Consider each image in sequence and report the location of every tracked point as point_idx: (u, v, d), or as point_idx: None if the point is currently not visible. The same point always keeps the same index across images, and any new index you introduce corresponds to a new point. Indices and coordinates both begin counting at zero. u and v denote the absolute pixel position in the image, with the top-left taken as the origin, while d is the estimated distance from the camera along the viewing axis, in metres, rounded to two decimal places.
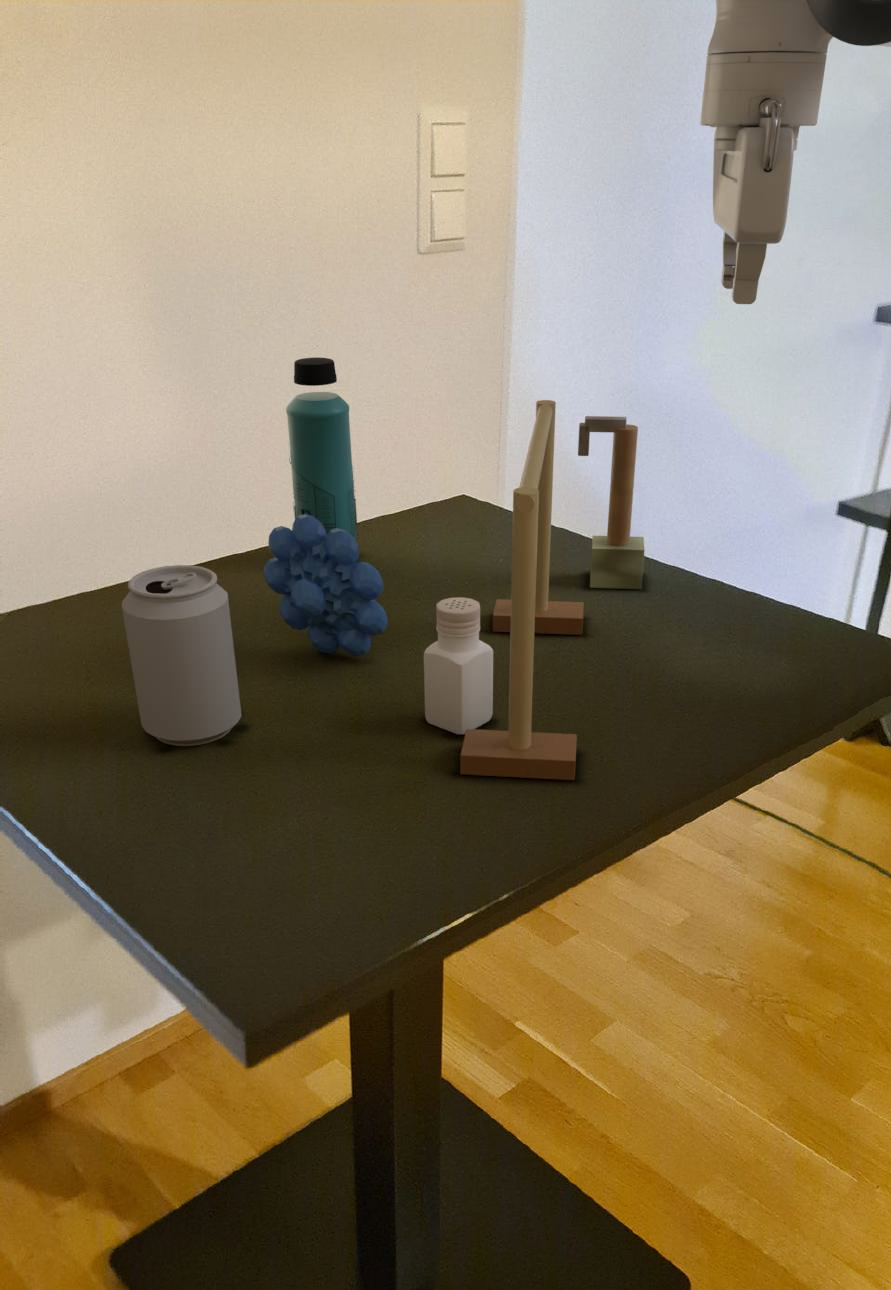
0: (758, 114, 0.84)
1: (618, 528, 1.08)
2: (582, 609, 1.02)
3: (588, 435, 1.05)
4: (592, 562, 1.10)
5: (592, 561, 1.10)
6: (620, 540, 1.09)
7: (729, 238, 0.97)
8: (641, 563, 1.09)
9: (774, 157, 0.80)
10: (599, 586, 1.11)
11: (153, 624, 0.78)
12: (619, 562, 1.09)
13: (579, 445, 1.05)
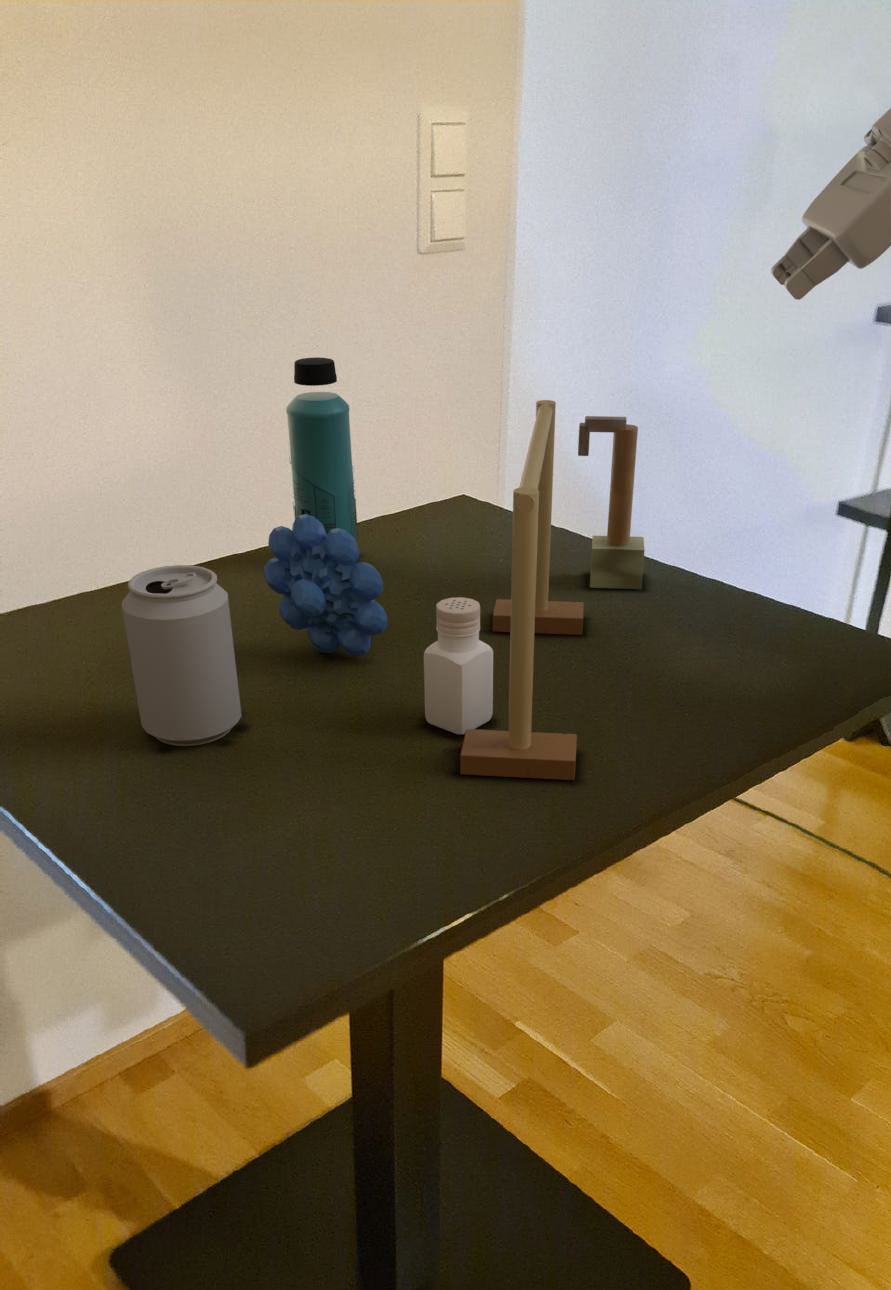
0: None
1: (618, 528, 1.08)
2: (582, 609, 1.02)
3: (588, 435, 1.05)
4: (592, 562, 1.10)
5: (592, 561, 1.10)
6: (620, 540, 1.09)
7: (806, 239, 1.00)
8: (641, 563, 1.09)
9: None
10: (599, 586, 1.11)
11: (153, 624, 0.78)
12: (619, 562, 1.09)
13: (579, 445, 1.05)
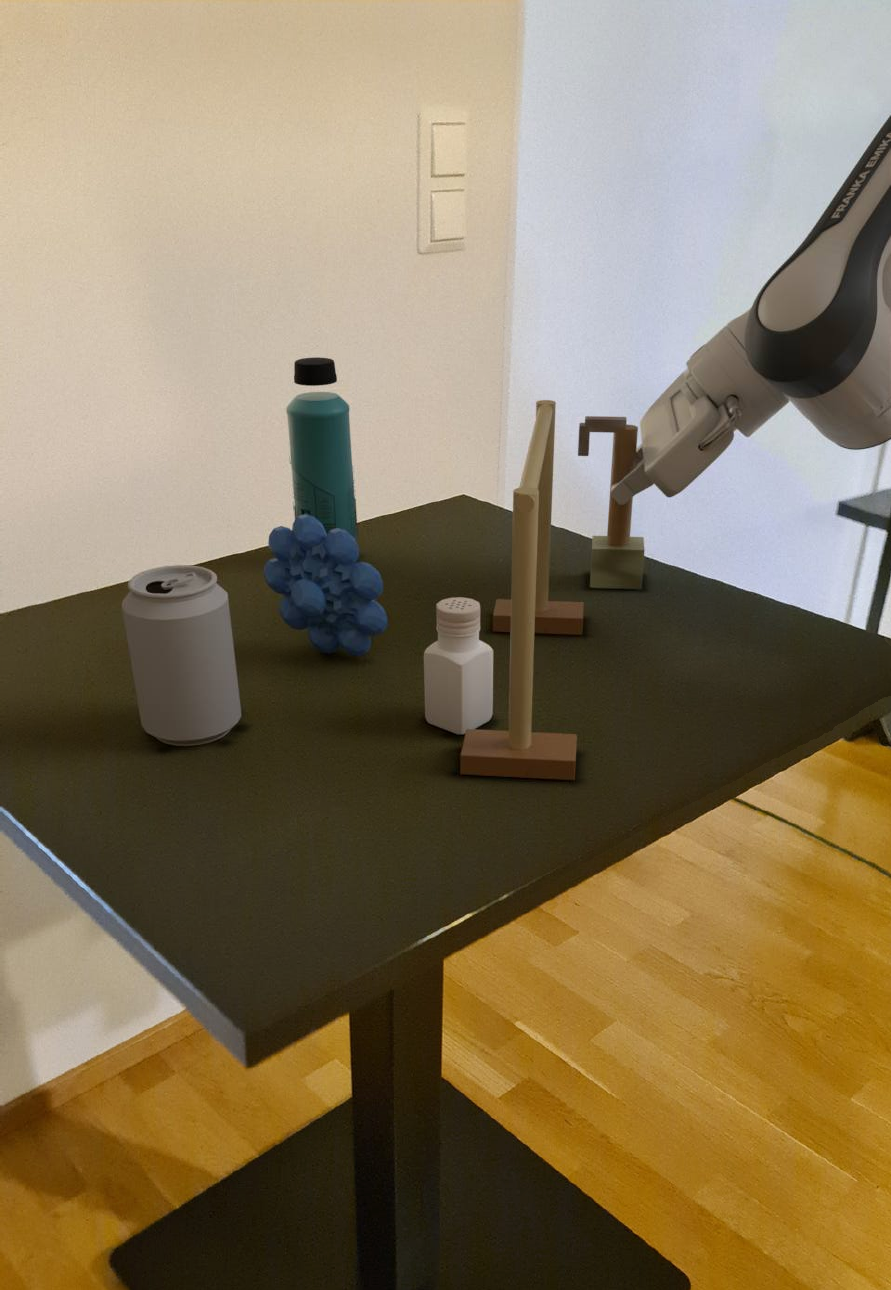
0: (723, 400, 0.98)
1: (618, 528, 1.08)
2: (582, 609, 1.02)
3: (588, 435, 1.05)
4: (592, 562, 1.10)
5: (592, 561, 1.09)
6: (620, 540, 1.09)
7: (640, 453, 1.08)
8: (641, 563, 1.09)
9: (710, 445, 0.95)
10: (599, 586, 1.11)
11: (153, 624, 0.78)
12: (619, 562, 1.09)
13: (579, 445, 1.05)
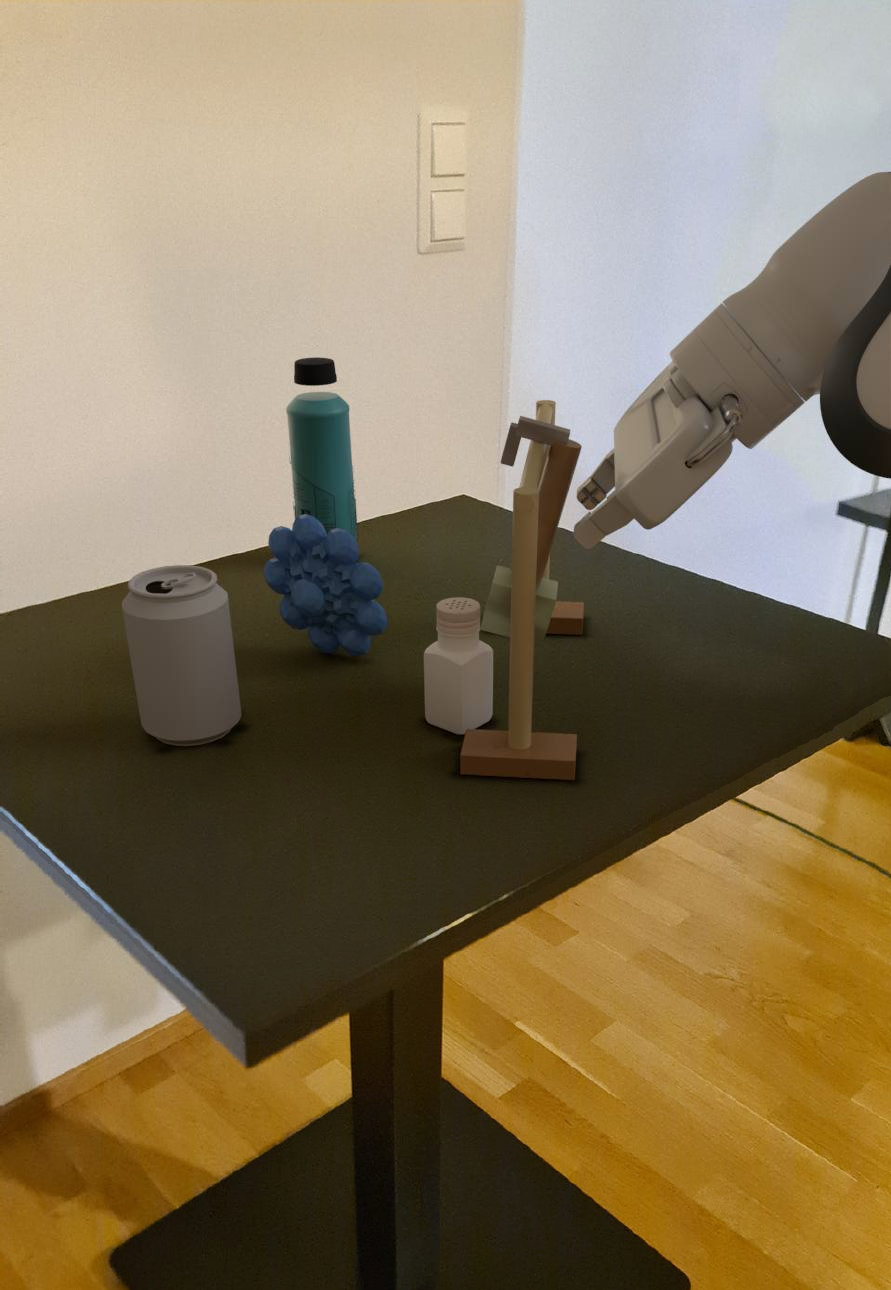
0: (718, 401, 0.75)
1: None
2: (582, 609, 1.02)
3: (518, 441, 0.81)
4: (489, 599, 0.86)
5: (489, 598, 0.86)
6: None
7: (613, 460, 0.87)
8: (548, 615, 0.86)
9: (701, 461, 0.71)
10: (491, 630, 0.88)
11: (153, 624, 0.78)
12: None
13: (504, 450, 0.82)
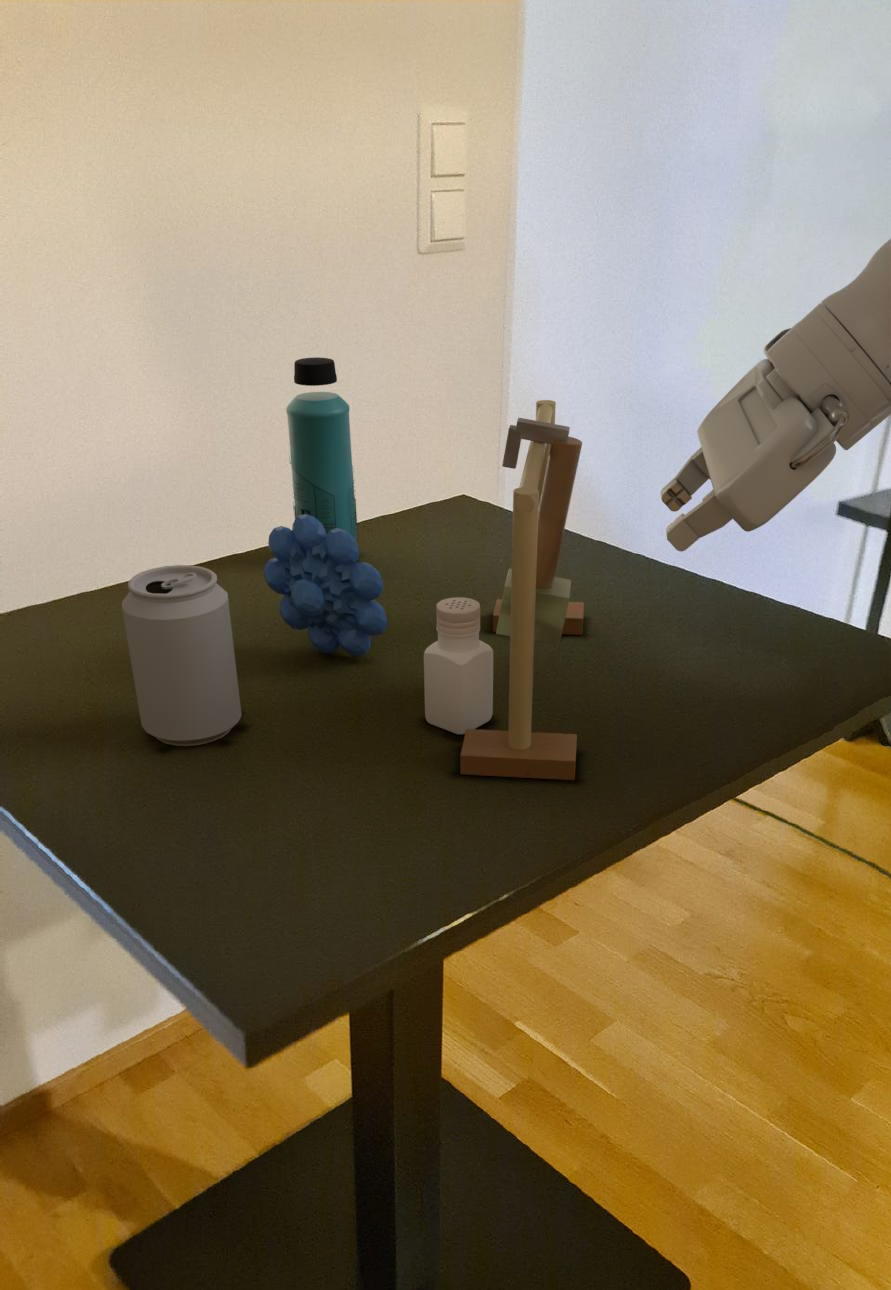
0: (819, 402, 0.74)
1: (541, 566, 0.85)
2: (582, 609, 1.02)
3: (518, 442, 0.82)
4: (502, 603, 0.86)
5: (503, 602, 0.86)
6: (541, 581, 0.86)
7: (699, 461, 0.86)
8: (563, 614, 0.86)
9: (807, 462, 0.70)
10: (507, 634, 0.88)
11: (153, 624, 0.78)
12: (536, 608, 0.86)
13: (505, 453, 0.82)
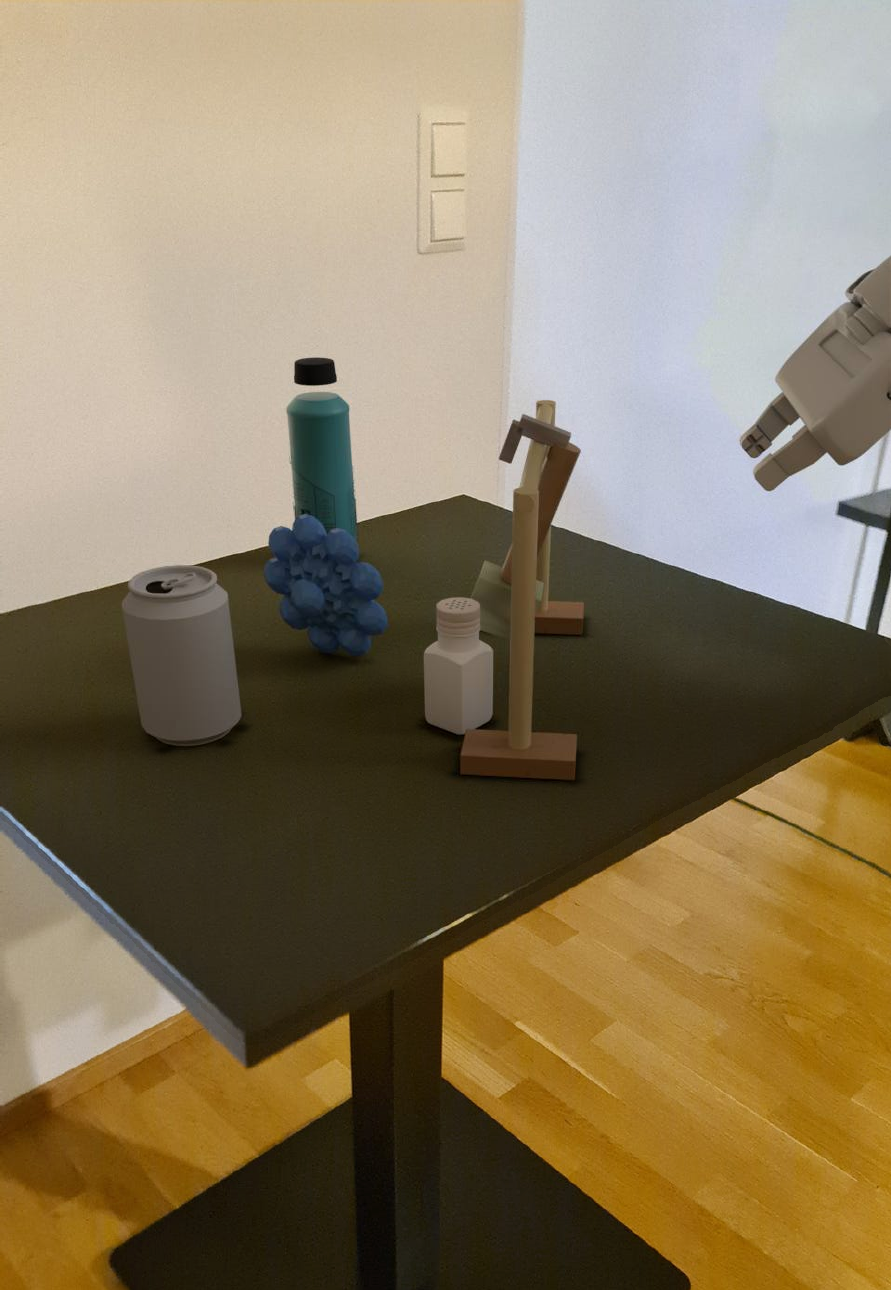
0: None
1: None
2: (582, 609, 1.02)
3: (519, 439, 0.81)
4: (475, 594, 0.86)
5: (475, 593, 0.86)
6: None
7: (779, 406, 0.86)
8: None
9: None
10: None
11: (153, 624, 0.78)
12: (506, 605, 0.86)
13: (504, 447, 0.82)
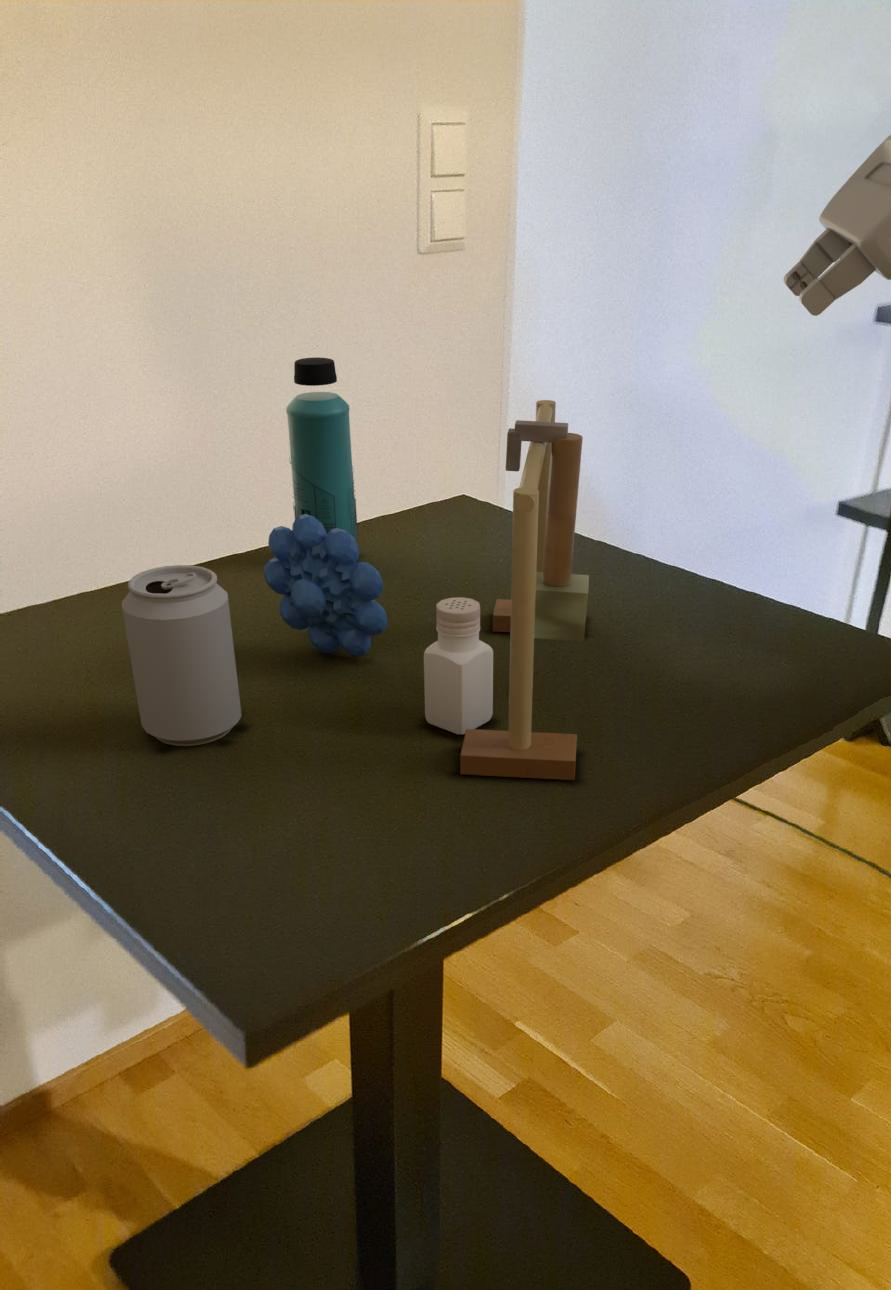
0: None
1: (556, 565, 0.85)
2: None
3: (519, 445, 0.82)
4: None
5: None
6: (558, 579, 0.86)
7: (824, 242, 0.86)
8: (584, 609, 0.86)
9: None
10: None
11: (153, 624, 0.78)
12: (556, 607, 0.86)
13: (507, 457, 0.82)
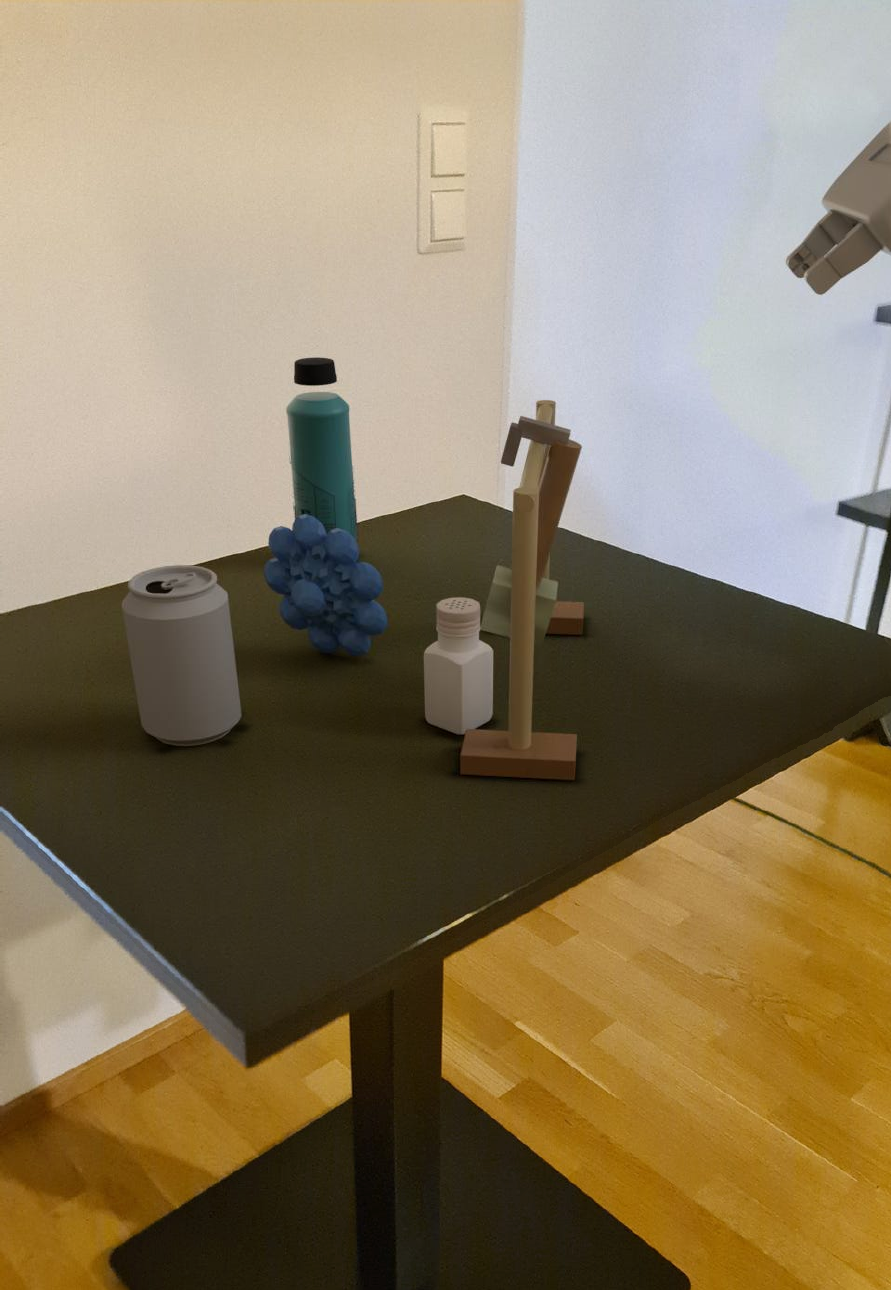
0: None
1: None
2: (582, 609, 1.02)
3: (519, 441, 0.81)
4: (489, 599, 0.86)
5: (489, 598, 0.86)
6: None
7: (827, 224, 0.85)
8: (548, 615, 0.86)
9: None
10: (491, 630, 0.88)
11: (153, 624, 0.78)
12: None
13: (505, 450, 0.82)
